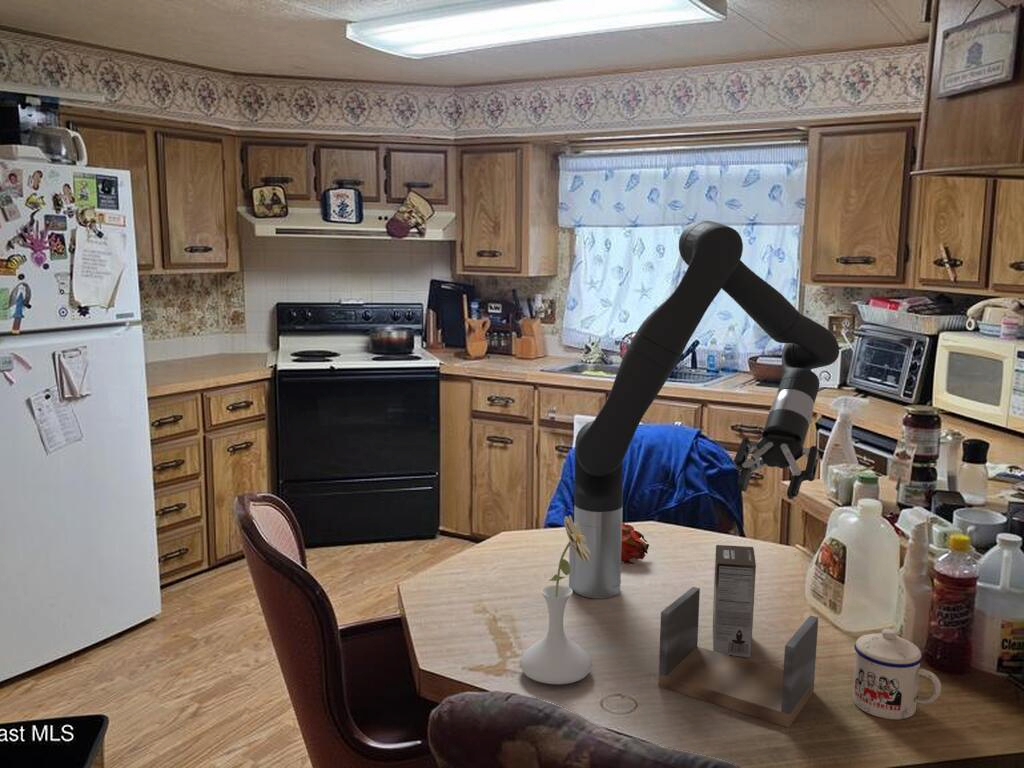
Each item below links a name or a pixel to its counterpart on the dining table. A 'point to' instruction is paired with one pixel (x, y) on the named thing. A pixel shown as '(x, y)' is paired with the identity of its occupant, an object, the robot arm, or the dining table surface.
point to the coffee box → (733, 600)
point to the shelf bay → (735, 668)
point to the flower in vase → (559, 627)
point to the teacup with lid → (889, 676)
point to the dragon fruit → (632, 545)
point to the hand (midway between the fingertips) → (765, 493)
